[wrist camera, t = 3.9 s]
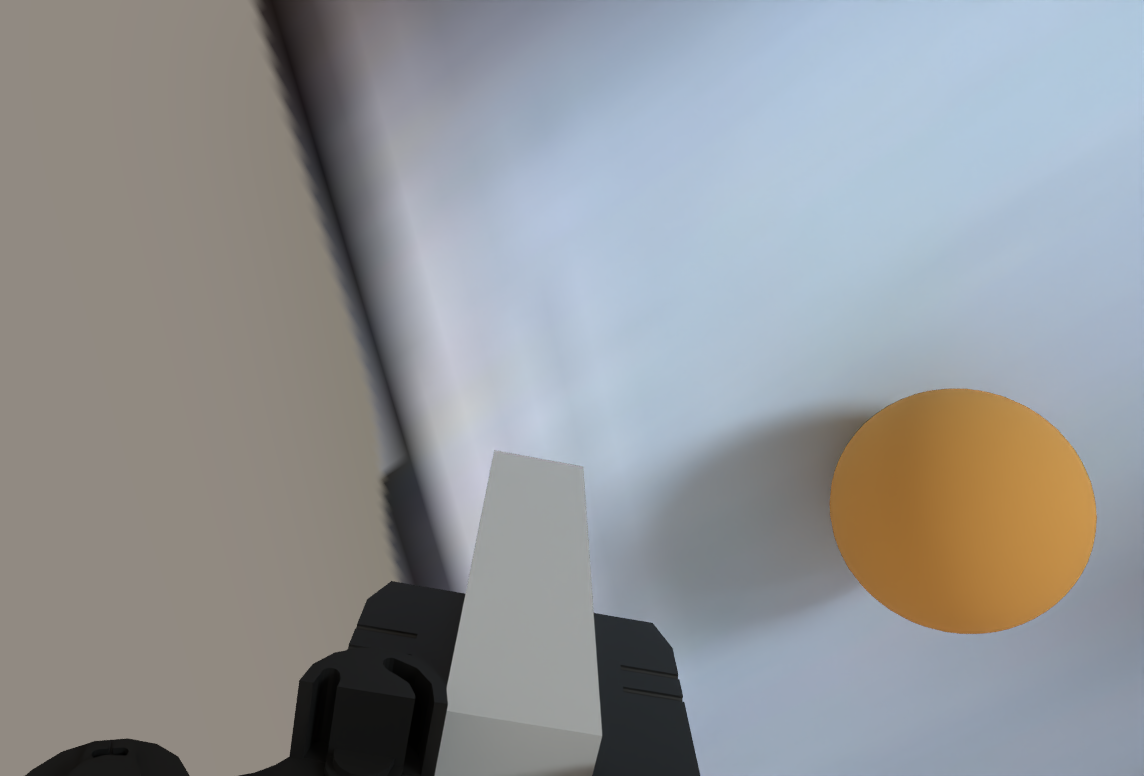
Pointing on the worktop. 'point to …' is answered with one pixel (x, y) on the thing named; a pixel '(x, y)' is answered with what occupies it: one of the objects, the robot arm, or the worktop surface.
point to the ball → (963, 511)
